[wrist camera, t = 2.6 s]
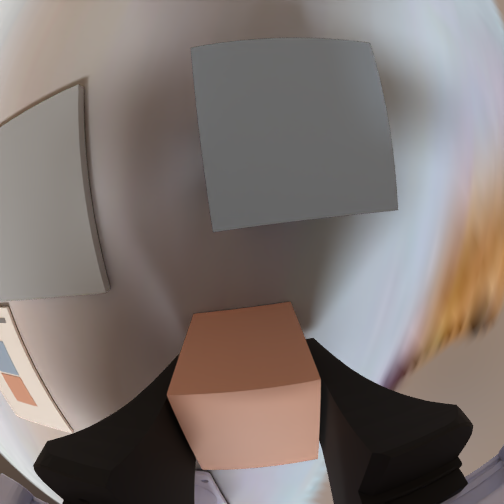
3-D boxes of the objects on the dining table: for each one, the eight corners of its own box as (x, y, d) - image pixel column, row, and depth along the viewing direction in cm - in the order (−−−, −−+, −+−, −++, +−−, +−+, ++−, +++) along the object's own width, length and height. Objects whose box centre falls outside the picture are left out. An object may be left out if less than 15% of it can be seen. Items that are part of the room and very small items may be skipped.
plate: (110, 288, 11) (105, 292, 10) (-3, 298, 11) (-8, 302, 10) (83, 86, 9) (78, 84, 8) (-26, 150, 9) (-31, 150, 8)
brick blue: (330, 196, 10) (397, 210, 5) (226, 209, 10) (213, 232, 5) (317, 97, 9) (369, 42, 5) (213, 106, 9) (190, 48, 4)
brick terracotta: (296, 375, 12) (317, 458, 7) (212, 385, 12) (202, 469, 7) (290, 301, 11) (320, 379, 6) (193, 313, 11) (166, 394, 6)
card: (73, 431, 13) (72, 433, 13) (18, 415, 13) (16, 416, 13) (8, 306, 11) (6, 308, 11) (-36, 307, 11) (-39, 309, 11)
